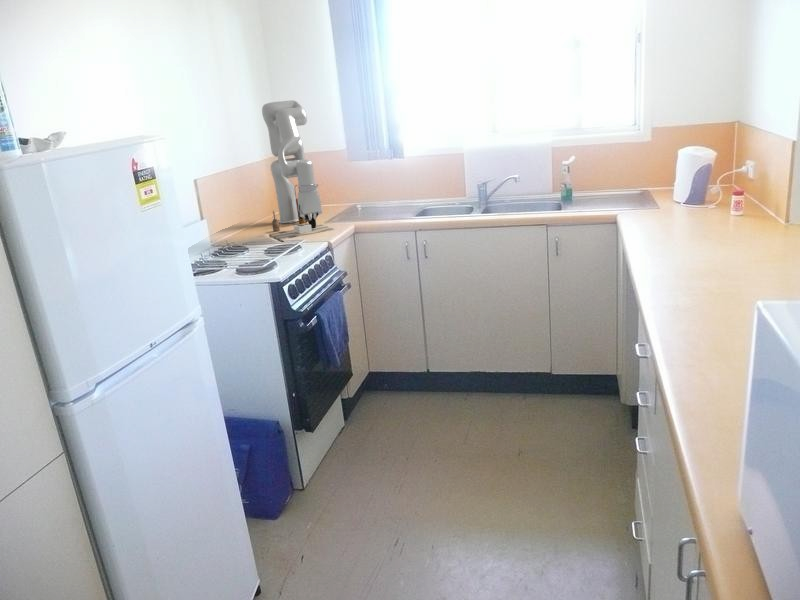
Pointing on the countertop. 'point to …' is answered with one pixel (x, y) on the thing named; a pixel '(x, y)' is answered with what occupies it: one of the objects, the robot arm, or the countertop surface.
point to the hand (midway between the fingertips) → (312, 227)
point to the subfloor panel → (292, 233)
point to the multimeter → (301, 219)
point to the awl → (275, 224)
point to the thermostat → (302, 228)
